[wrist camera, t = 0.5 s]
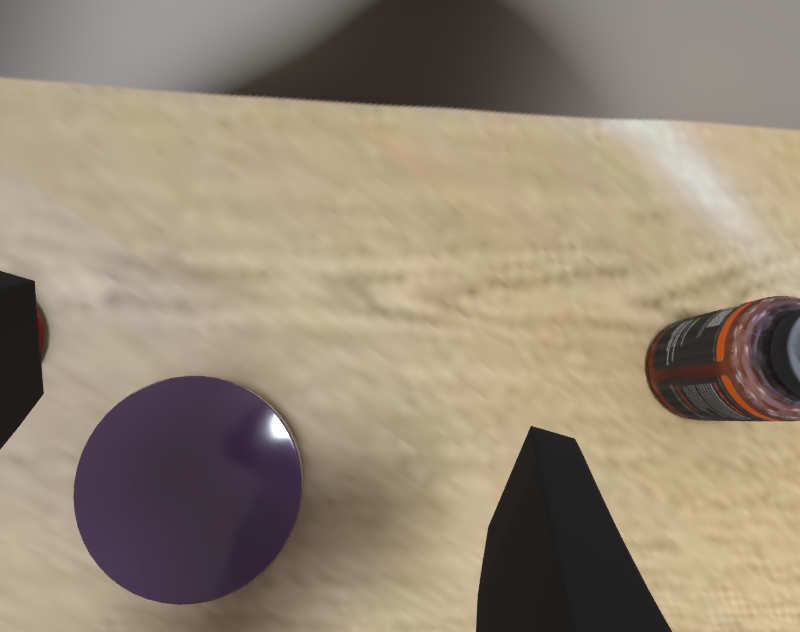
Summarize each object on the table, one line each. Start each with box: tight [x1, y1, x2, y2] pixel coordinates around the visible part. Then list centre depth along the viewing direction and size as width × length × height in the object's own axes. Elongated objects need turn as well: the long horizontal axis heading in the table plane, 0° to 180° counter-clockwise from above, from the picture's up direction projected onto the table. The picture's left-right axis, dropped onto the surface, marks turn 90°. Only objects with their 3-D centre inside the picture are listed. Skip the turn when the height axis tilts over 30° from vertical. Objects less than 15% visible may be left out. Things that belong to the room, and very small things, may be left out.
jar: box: [74, 376, 303, 605], centre depth 34 cm, size 10×10×5 cm
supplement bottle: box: [649, 296, 800, 421], centre depth 34 cm, size 6×6×11 cm
